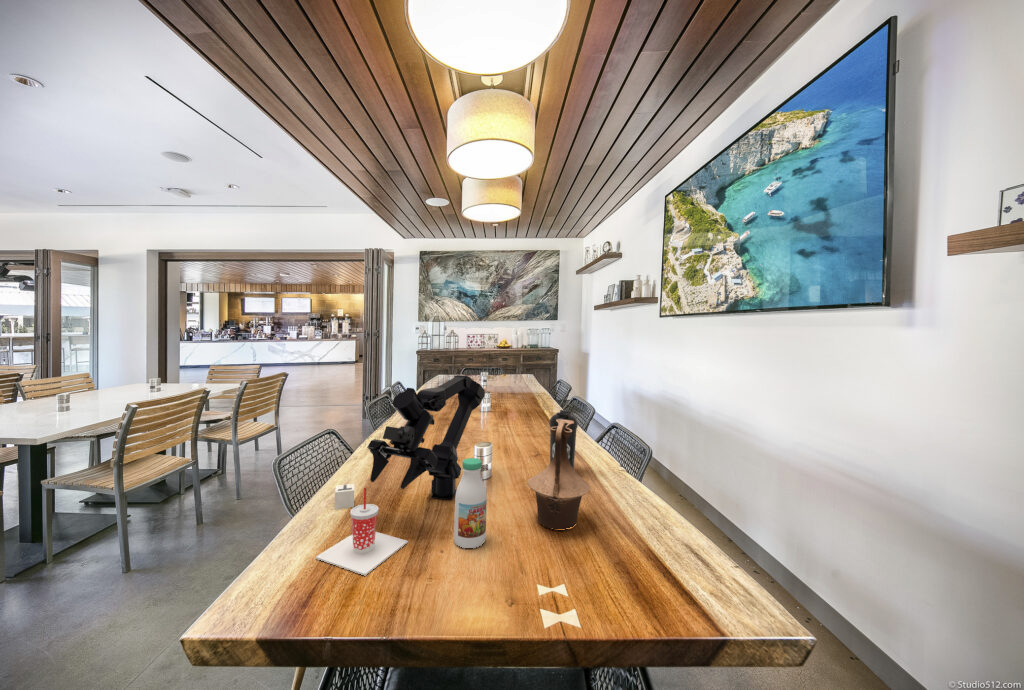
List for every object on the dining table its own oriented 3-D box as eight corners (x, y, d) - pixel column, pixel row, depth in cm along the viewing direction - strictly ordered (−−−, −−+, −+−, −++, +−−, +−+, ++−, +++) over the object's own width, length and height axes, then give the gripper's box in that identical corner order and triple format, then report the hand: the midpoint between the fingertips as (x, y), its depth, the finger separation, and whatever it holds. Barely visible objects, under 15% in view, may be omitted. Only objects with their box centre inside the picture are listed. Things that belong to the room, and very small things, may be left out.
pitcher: (588, 543, 96) (593, 431, 95) (520, 533, 99) (524, 425, 98) (588, 511, 113) (592, 415, 112) (531, 504, 117) (534, 411, 116)
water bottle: (544, 477, 138) (547, 413, 138) (550, 467, 148) (552, 407, 147) (573, 481, 136) (576, 415, 135) (577, 471, 145) (579, 410, 144)
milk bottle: (447, 544, 94) (449, 461, 93) (465, 530, 100) (467, 453, 100) (474, 553, 90) (476, 468, 89) (491, 538, 97) (493, 458, 96)
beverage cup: (360, 539, 93) (361, 481, 93) (383, 543, 92) (384, 484, 91) (343, 553, 87) (344, 491, 87) (367, 557, 86) (368, 495, 85)
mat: (362, 530, 99) (362, 527, 99) (407, 543, 93) (407, 540, 93) (315, 559, 86) (315, 556, 86) (365, 576, 80) (365, 574, 80)
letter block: (354, 500, 116) (354, 483, 115) (353, 507, 111) (354, 489, 111) (335, 502, 114) (335, 485, 114) (334, 509, 109) (335, 492, 109)
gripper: (372, 409, 103) (339, 463, 94) (432, 417, 96) (402, 476, 87) (392, 431, 111) (363, 483, 101) (448, 440, 104) (423, 497, 94)
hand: (386, 484), depth 96 cm, fingers open, 9 cm apart
